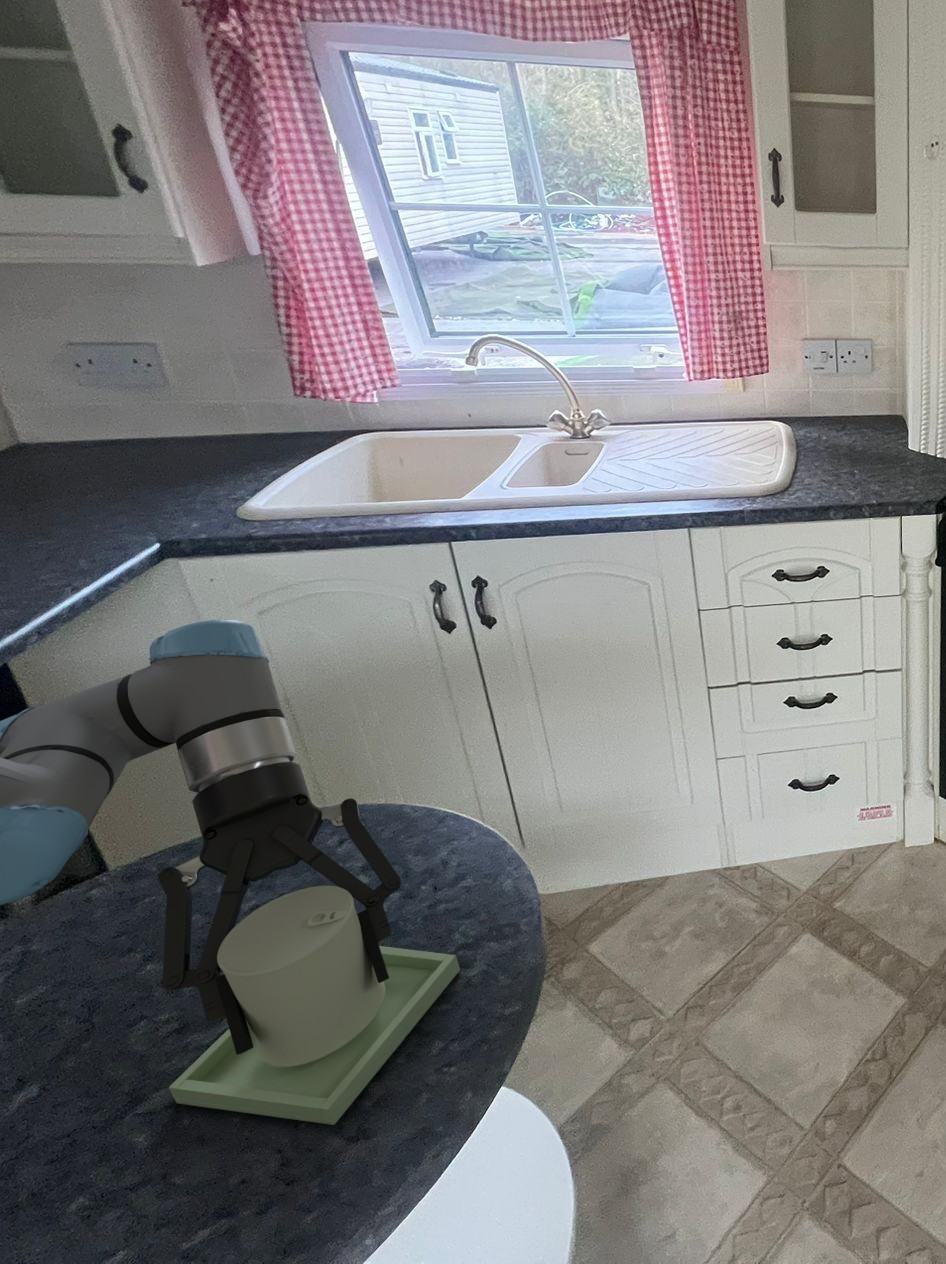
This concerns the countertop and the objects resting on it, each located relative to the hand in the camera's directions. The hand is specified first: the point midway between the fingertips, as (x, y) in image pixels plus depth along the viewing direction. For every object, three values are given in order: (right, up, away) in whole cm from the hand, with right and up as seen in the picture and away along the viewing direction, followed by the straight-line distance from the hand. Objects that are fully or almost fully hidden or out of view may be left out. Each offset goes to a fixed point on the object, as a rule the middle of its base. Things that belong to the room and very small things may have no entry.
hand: (317, 1014), depth 72 cm
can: (-2, -3, +4) cm, 5 cm away
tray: (-2, -4, +4) cm, 6 cm away
